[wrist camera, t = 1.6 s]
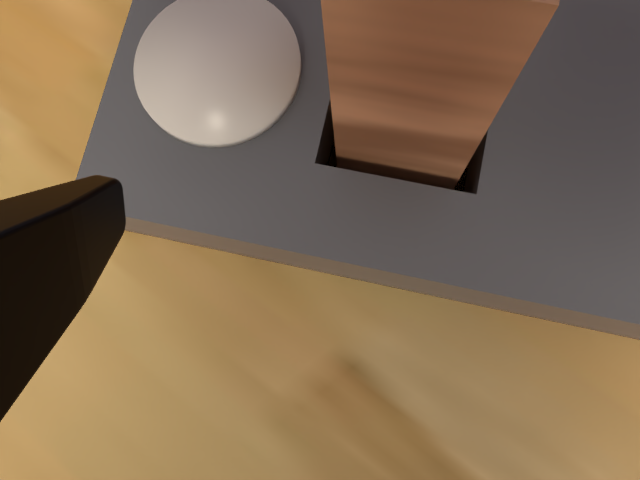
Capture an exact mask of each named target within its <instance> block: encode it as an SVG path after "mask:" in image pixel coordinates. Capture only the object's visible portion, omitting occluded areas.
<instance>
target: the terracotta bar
mask: <svg viewBox="0 0 640 480" xmlns="http://www.w3.org/2000/svg"><path fill="white" fill-rule="evenodd" d="M559 1H560V0H321V9H322V19H323V29H324V39H325V49H326V59H327V69H328V80H329V90H330V100H331V110H332V120H333V130H334V140H335V150H336V160H337V168H342V169H347V170H352V171H358V172H363V173H368V174H373V175H378V176H384V177H389V178H394V179H399V180H404V181H410V182H415V183H420V184H425V185H430V186H436V187H441V188H446V189H451V190H453V189H454V187H455V186H456V184H457V182H458V180H459V179H460V177H461V175H462V173H463V172H464V170H465V168H466V166H467V165H468V163H469V161H470V160H471V158H472V156H473V154H474V153H475V151H476V149H477V147H478V146H479V144H480V142H481V140H482V139H483V137H484V135H485V133H486V132H487V130H488V128H489V126H490V125H491V123H492V121H493V119H494V118H495V116H496V114H497V112H498V111H499V109H500V107H501V105H502V104H503V102H504V100H505V98H506V97H507V95H508V93H509V91H510V90H511V88H512V86H513V85H514V83H515V81H516V79H517V78H518V76H519V74H520V72H521V71H522V69H523V67H524V65H525V64H526V62H527V60H528V58H529V57H530V55H531V53H532V51H533V50H534V48H535V46H536V44H537V43H538V41H539V39H540V37H541V36H542V34H543V32H544V30H545V29H546V27H547V25H548V23H549V22H550V20H551V18H552V17H553V15H554V13H555V11H556V10H557V8H558V6H559Z"/></svg>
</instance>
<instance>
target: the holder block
mask: <svg viewBox="0 0 640 480" xmlns="http://www.w3.org/2000/svg"><path fill="white" fill-rule="evenodd" d="M333 138H334V130H333V120H332V110H331V100H330V90H329V80H328V69H327V59H326V49H325V39H324V29H323V19H322V9H321V0H133V1H132V4H131V7H130V11H129V14H128V17H127V20H126V23H125V26H124V30H123V33H122V36H121V39H120V42H119V45H118V48H117V52H116V55H115V58H114V61H113V64H112V67H111V70H110V74H109V77H108V80H107V83H106V86H105V89H104V93H103V96H102V99H101V102H100V105H99V108H98V111H97V115H96V118H95V121H94V124H93V127H92V130H91V133H90V137H89V140H88V143H87V146H86V149H85V152H84V156H83V159H82V162H81V165H80V168H79V171H78V174H77V178H76V180H78V179H81V178H85V177H89V176H93V175H101V176H106V177H111V178H116V179H118V180H119V181H120V182H121V184H122V187H123V195H124V205H125V215H126V226H125V230H126V231H131V232H136V233H141V234H145V235H150V236H155V237H159V238H164V239H169V240H173V241H178V242H183V243H188V244H192V245H197V246H202V247H206V248H211V249H216V250H220V251H225V252H230V253H235V254H239V255H244V256H249V257H253V258H258V259H263V260H267V261H272V262H277V263H282V264H286V265H291V266H296V267H300V268H305V269H310V270H314V271H319V272H324V273H329V274H333V275H338V276H343V277H347V278H352V279H357V280H361V281H366V282H371V283H376V284H380V285H385V286H390V287H394V288H399V289H404V290H408V291H413V292H418V293H423V294H427V295H432V296H437V297H441V298H446V299H451V300H455V301H460V302H465V303H470V304H474V305H479V306H484V307H488V308H493V309H498V310H502V311H507V312H512V313H517V314H521V315H526V316H531V317H535V318H540V319H545V320H550V321H554V322H559V323H564V324H568V325H573V326H578V327H582V328H587V329H592V330H597V331H601V332H606V333H611V334H615V335H620V336H625V337H629V338H634V339H639V340H640V0H560V1H559V6H558V8H557V10H556V11H555V13H554V15H553V17H552V18H551V20H550V22H549V23H548V25H547V27H546V29H545V30H544V32H543V34H542V36H541V37H540V39H539V41H538V43H537V44H536V46H535V48H534V50H533V51H532V53H531V55H530V57H529V58H528V60H527V62H526V64H525V65H524V67H523V69H522V71H521V72H520V74H519V76H518V78H517V79H516V81H515V83H514V85H513V86H512V88H511V90H510V91H509V93H508V95H507V97H506V98H505V100H504V102H503V104H502V105H501V107H500V109H499V111H498V112H497V114H496V116H495V118H494V119H493V121H492V123H491V125H490V126H489V128H488V130H487V132H486V133H485V135H484V137H483V139H482V140H481V142H480V144H479V146H478V147H477V149H476V151H475V153H474V154H473V156H472V158H471V160H470V161H469V164H468V170H467V175H466V181H465V186H464V192H462V191H456V190H451V189H446V188H441V187H436V186H430V185H425V184H420V183H415V182H410V181H404V180H399V179H394V178H389V177H384V176H378V175H373V174H368V173H363V172H358V171H352V170H347V169H342V168H337V167H332V166H327V164H328V160H329V155H330V151H331V147H332V142H333Z"/></svg>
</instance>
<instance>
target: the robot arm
mask: <svg viewBox="0 0 640 480" xmlns="http://www.w3.org/2000/svg"><path fill="white" fill-rule="evenodd" d="M125 226H126V215H125V205H124V195H123V187H122V184H121V182H120V181H119V180H118V179H116V178H111V177H106V176H101V175H93V176H89V177H85V178H81V179H78V180H74V181H70V182H67V183H63V184H59V185H56V186H52V187H48V188H44V189H41V190H37V191H33V192H30V193H26V194H22V195H18V196H15V197H11V198H7V199H4V200H0V422H1V420H2V419H3V417H4V416H5V414H6V413H7V412H8V410H9V409H10V407H11V406H12V405H13V403H14V402H15V400H16V399H17V398H18V396H19V395H20V393H21V392H22V391H23V389H24V388H25V386H26V385H27V384H28V382H29V381H30V379H31V378H32V377H33V375H34V374H35V372H36V371H37V370H38V368H39V367H40V365H41V364H42V363H43V361H44V360H45V358H46V357H47V356H48V354H49V353H50V351H51V350H52V349H53V347H54V346H55V344H56V343H57V341H58V340H59V339H60V337H61V336H62V334H63V333H64V332H65V330H66V329H67V327H68V326H69V325H70V323H71V322H72V320H73V319H74V318H75V316H76V315H77V313H78V312H79V311H80V309H81V308H82V306H83V305H84V303H85V302H86V300H87V298H88V297H89V295H90V293H91V292H92V290H93V288H94V286H95V285H96V283H97V281H98V279H99V277H100V275H101V274H102V272H103V270H104V268H105V266H106V264H107V263H108V261H109V259H110V257H111V255H112V253H113V252H114V250H115V248H116V246H117V244H118V243H119V241H120V239H121V237H122V235H123V233H124V230H125Z"/></svg>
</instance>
